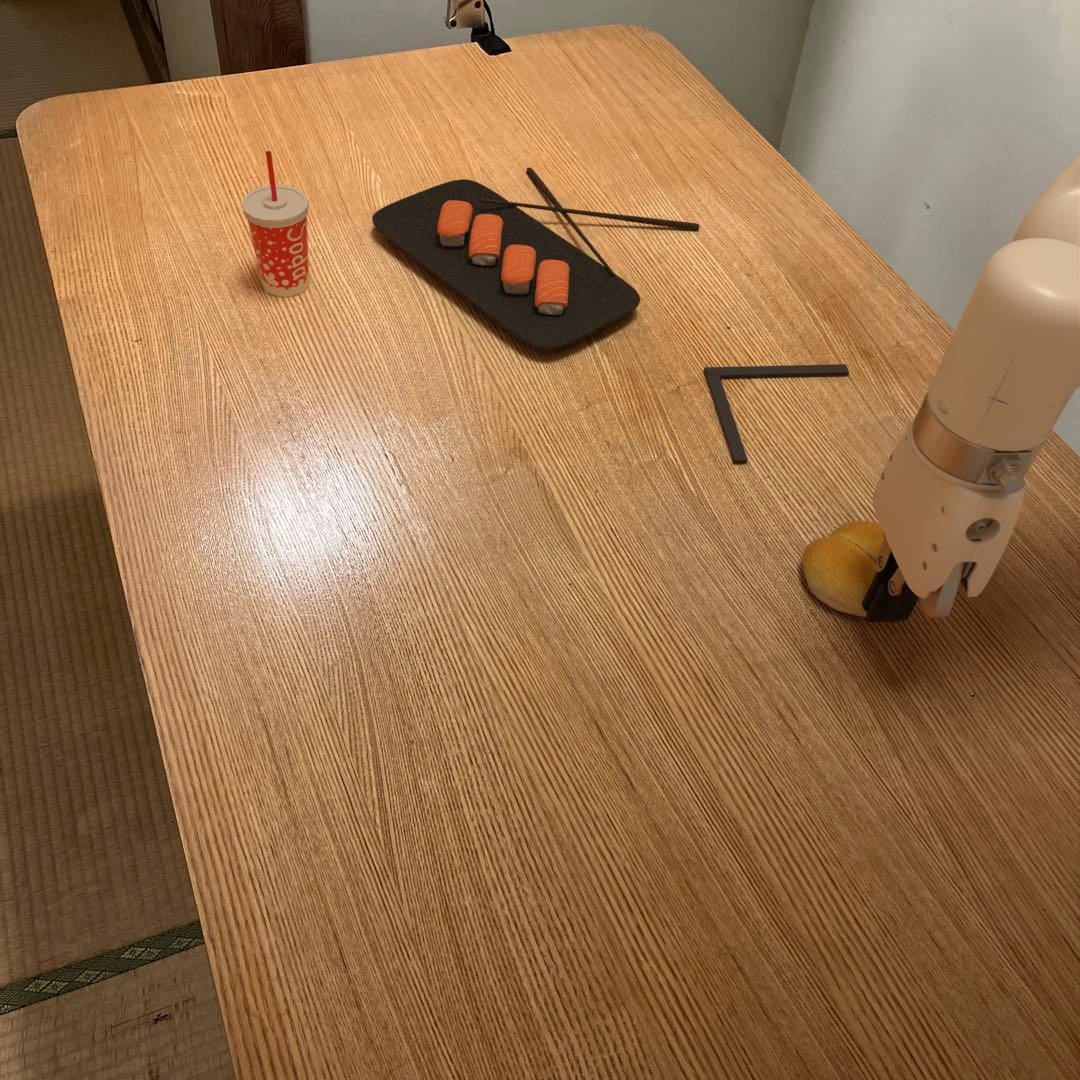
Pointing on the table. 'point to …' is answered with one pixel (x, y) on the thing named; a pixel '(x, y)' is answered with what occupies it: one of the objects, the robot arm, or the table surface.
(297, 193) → the beverage cup
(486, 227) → the sushi plate
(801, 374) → the corner guide
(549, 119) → the table surface
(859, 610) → the bread roll
